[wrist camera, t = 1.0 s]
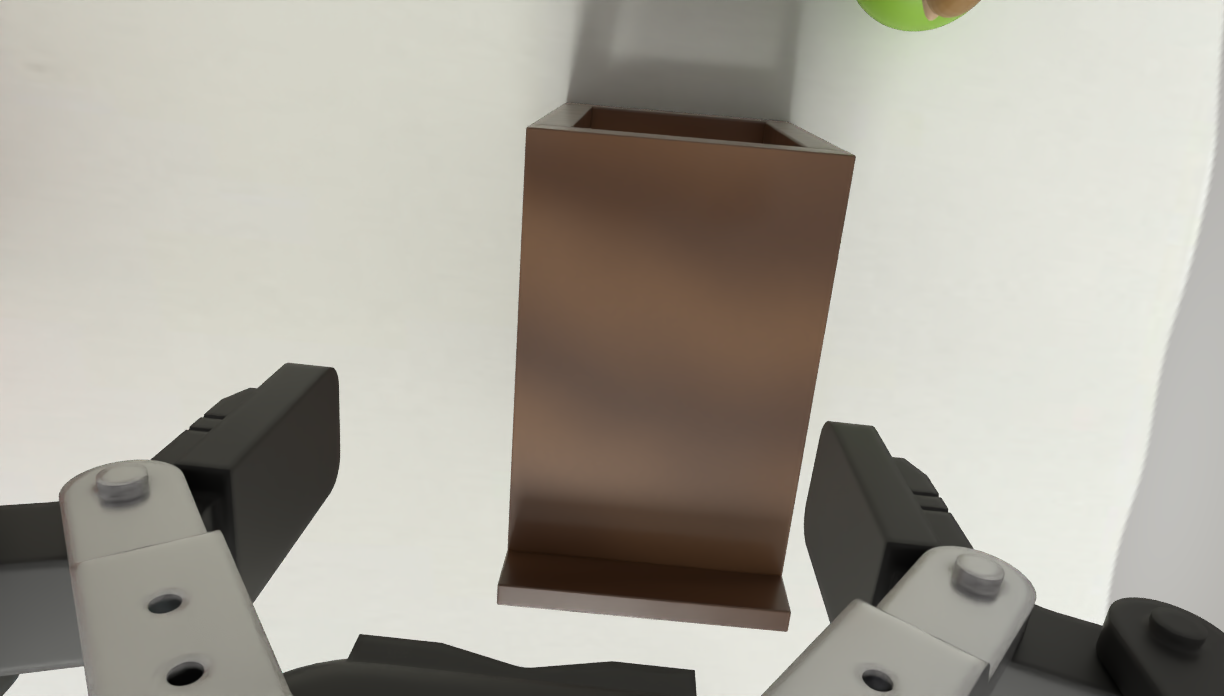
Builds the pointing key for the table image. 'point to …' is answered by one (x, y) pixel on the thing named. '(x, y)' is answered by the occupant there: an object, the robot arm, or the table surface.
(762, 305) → the box
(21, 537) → the robot arm
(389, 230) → the table surface
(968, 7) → the snail figurine
